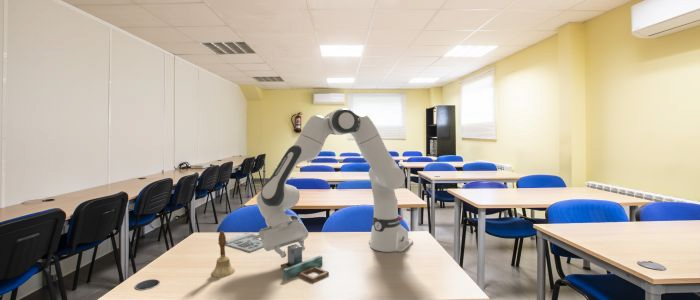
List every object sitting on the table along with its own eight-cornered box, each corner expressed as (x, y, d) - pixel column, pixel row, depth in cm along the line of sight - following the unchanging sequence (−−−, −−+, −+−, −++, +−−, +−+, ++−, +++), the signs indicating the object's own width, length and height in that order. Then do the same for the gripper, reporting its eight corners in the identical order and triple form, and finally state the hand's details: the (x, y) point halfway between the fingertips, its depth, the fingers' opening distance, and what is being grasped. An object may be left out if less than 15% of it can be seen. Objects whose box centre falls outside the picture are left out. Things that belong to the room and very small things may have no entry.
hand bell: (226, 278, 119) (226, 235, 118) (206, 276, 120) (205, 233, 120) (239, 268, 127) (238, 228, 126) (220, 267, 128) (219, 227, 128)
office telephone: (217, 239, 156) (250, 229, 173) (217, 244, 157) (250, 233, 173) (250, 247, 144) (282, 235, 161) (250, 253, 144) (282, 241, 161)
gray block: (295, 264, 131) (295, 244, 130) (302, 267, 128) (301, 246, 128) (287, 267, 128) (287, 246, 127) (294, 270, 125) (293, 248, 125)
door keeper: (305, 258, 137) (305, 250, 137) (338, 270, 125) (338, 262, 124) (269, 271, 124) (269, 262, 124) (301, 287, 111) (301, 277, 111)
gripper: (260, 225, 125) (275, 256, 119) (301, 215, 140) (316, 242, 134) (253, 234, 128) (268, 265, 122) (294, 223, 143) (309, 250, 137)
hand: (294, 253), depth 128 cm, fingers open, 8 cm apart
